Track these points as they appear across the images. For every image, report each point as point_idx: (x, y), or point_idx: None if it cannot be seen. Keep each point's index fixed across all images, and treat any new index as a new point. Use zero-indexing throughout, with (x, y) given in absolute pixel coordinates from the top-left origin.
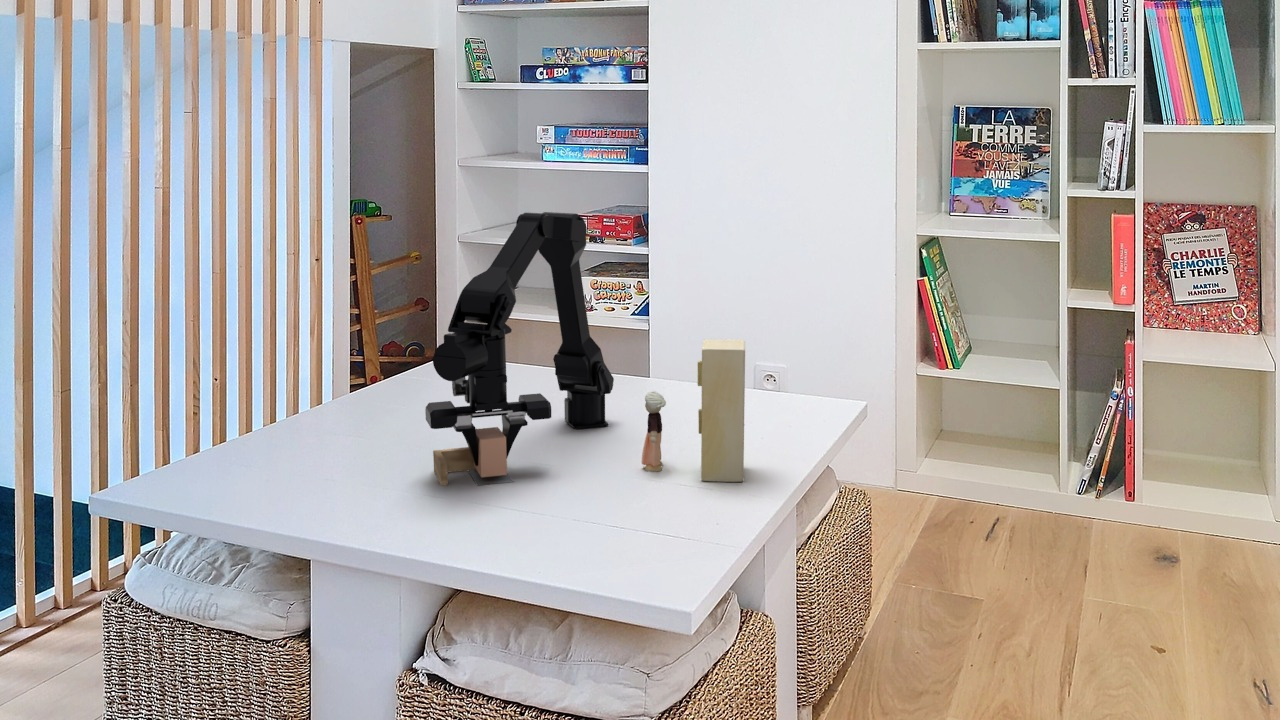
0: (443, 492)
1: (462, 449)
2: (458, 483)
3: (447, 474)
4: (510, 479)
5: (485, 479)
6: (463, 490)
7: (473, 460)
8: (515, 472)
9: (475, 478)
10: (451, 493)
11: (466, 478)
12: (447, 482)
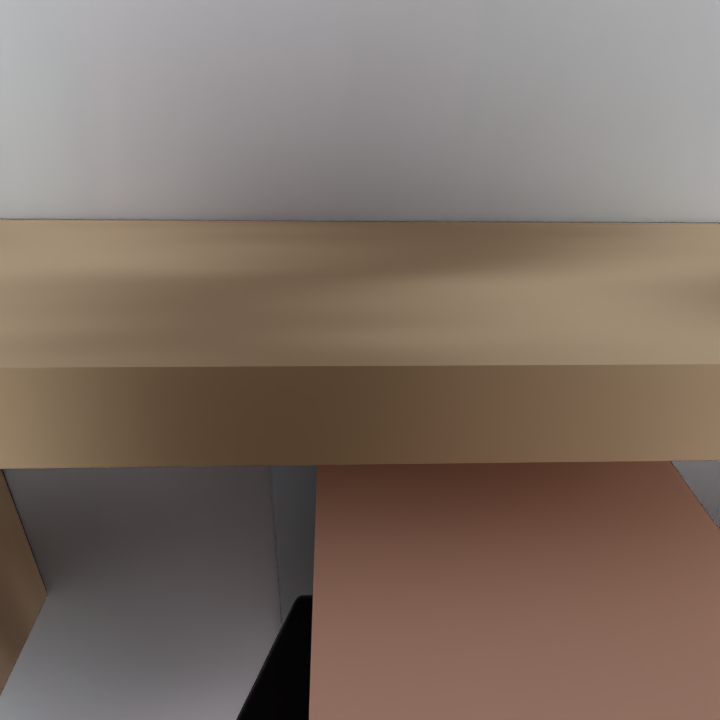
0: (26, 694)
1: (129, 463)
2: (139, 582)
3: (6, 680)
4: None
5: None
6: (173, 691)
7: (281, 631)
8: (688, 475)
9: (294, 546)
10: (86, 714)
11: (217, 501)
12: (36, 614)
